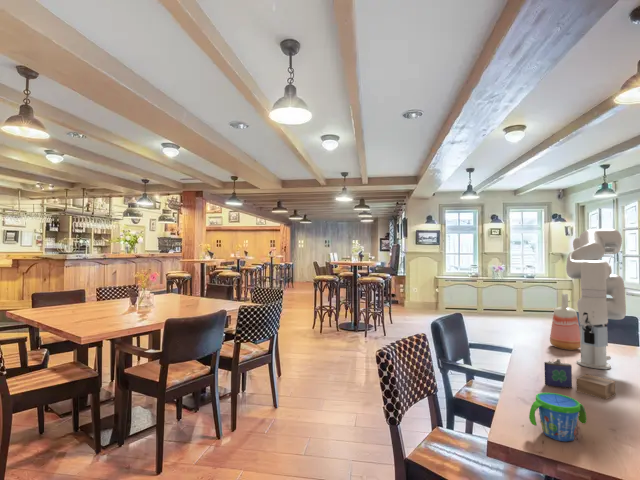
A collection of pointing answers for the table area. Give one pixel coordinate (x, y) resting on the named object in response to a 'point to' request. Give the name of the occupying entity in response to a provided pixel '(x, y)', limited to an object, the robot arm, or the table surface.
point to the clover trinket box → (558, 374)
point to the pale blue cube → (598, 336)
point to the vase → (565, 327)
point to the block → (595, 386)
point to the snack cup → (558, 415)
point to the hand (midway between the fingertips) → (594, 342)
